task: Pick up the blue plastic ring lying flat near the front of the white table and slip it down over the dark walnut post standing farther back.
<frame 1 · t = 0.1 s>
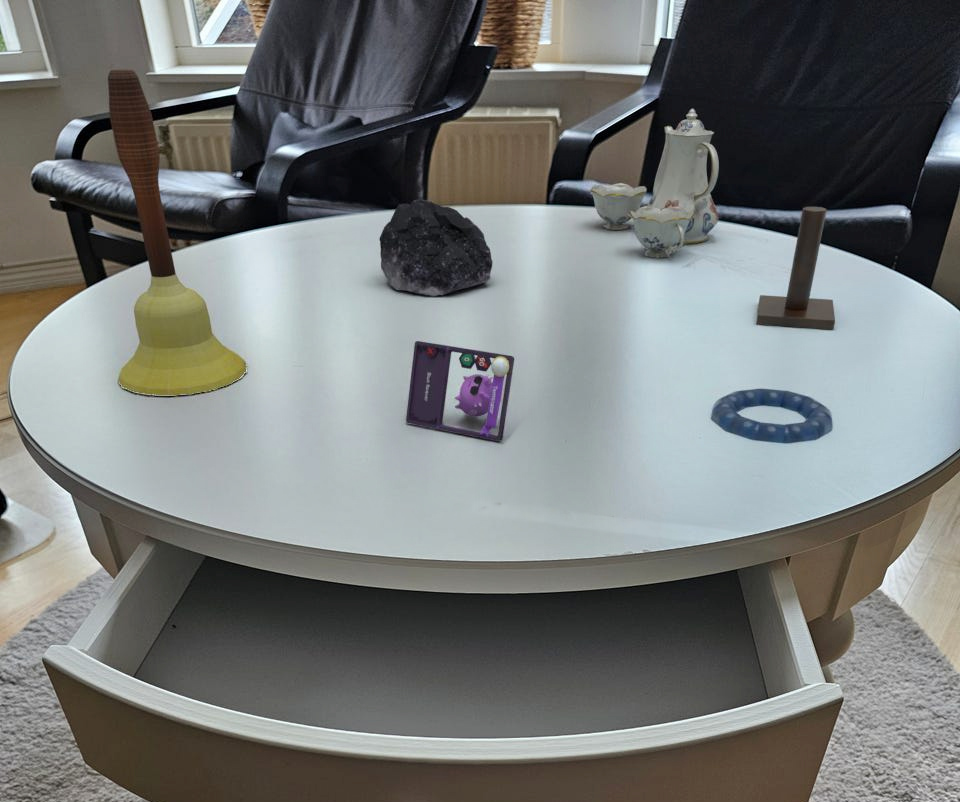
handbell: (184, 375, 88), on the table
ring: (771, 418, 75), point 1 cm above the table
chinaware: (658, 240, 131), on the table
dark grey rock: (437, 284, 114), on the table
game card: (465, 425, 77), on the table
post: (794, 316, 101), on the table
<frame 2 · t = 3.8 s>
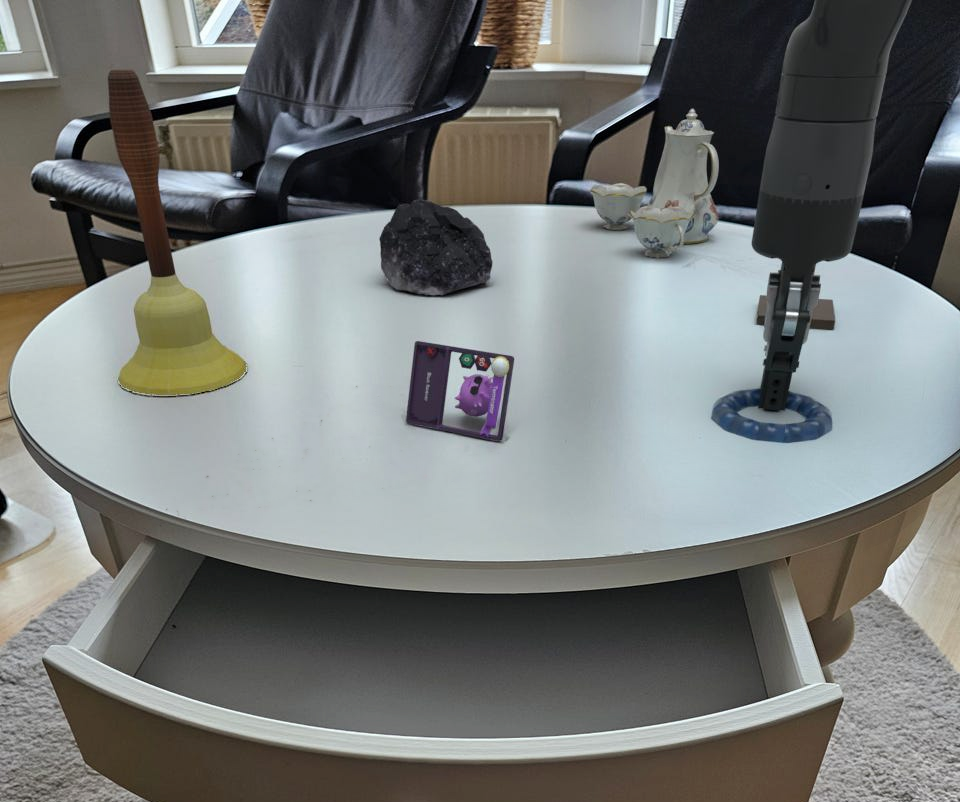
hand: (771, 406, 78), 1 cm above the table, tool pointing down, fingers closed on ring, 2 cm apart
ring: (771, 417, 75), point 1 cm above the table, touching gripper
everything else where it was.
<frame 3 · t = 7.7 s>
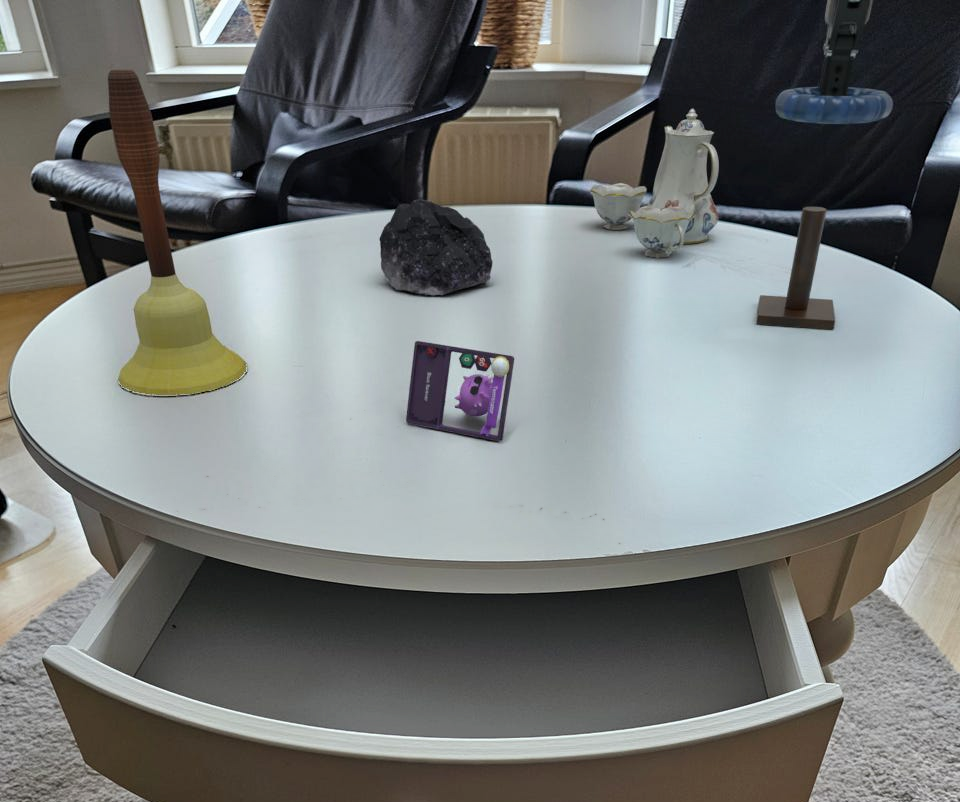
hand: (829, 105, 82), 21 cm above the table, tool pointing down, fingers closed on ring
ring: (832, 104, 79), point 22 cm above the table, touching gripper
everything else where it was.
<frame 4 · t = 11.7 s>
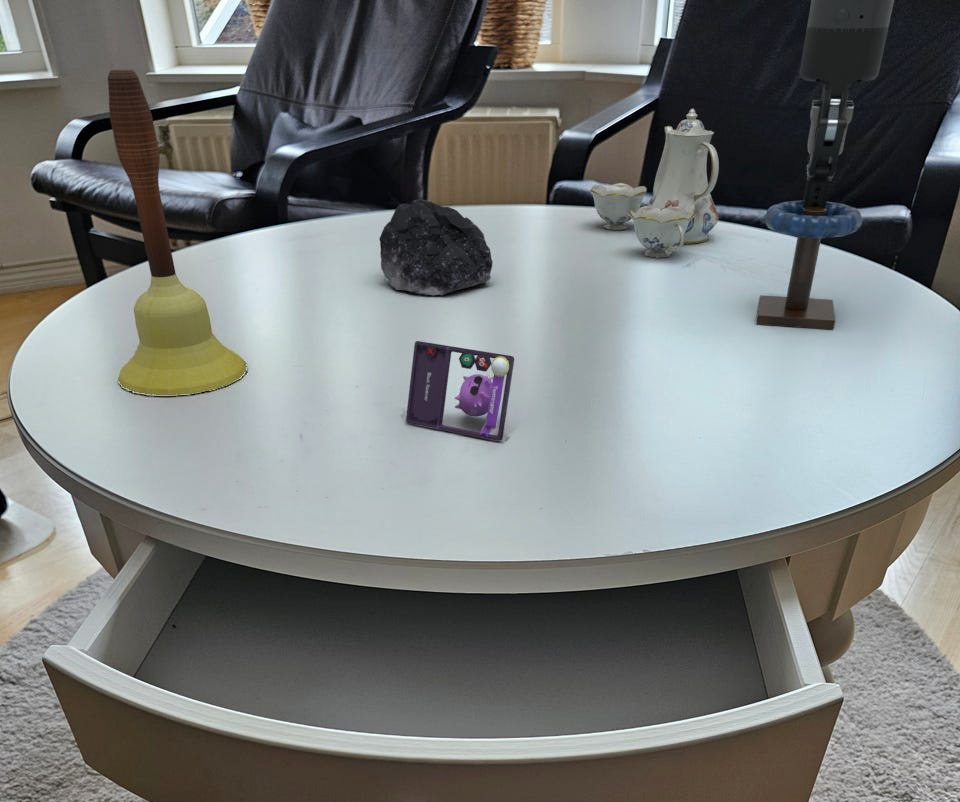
hand: (811, 215, 98), 10 cm above the table, tool pointing down, fingers closed on ring
ring: (812, 218, 95), point 10 cm above the table, touching gripper
everything else where it was.
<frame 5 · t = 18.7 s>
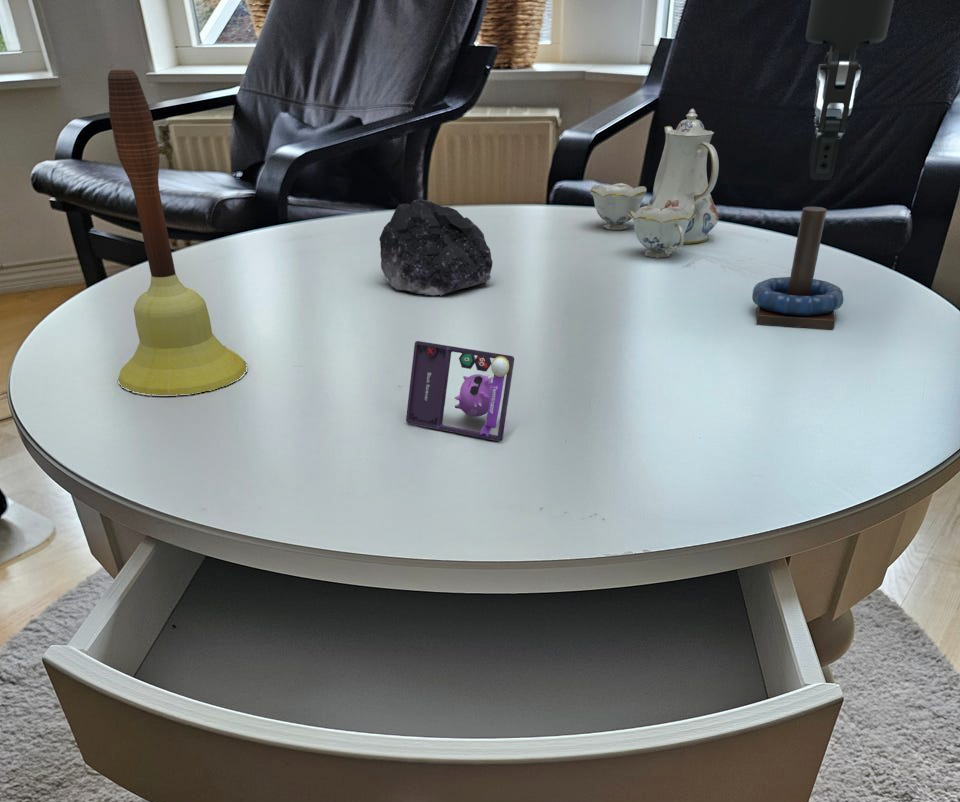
hand: (819, 172, 96), 14 cm above the table, tool pointing down, fingers open, 8 cm apart
ring: (797, 295, 100), point 2 cm above the table, touching post
everything else where it was.
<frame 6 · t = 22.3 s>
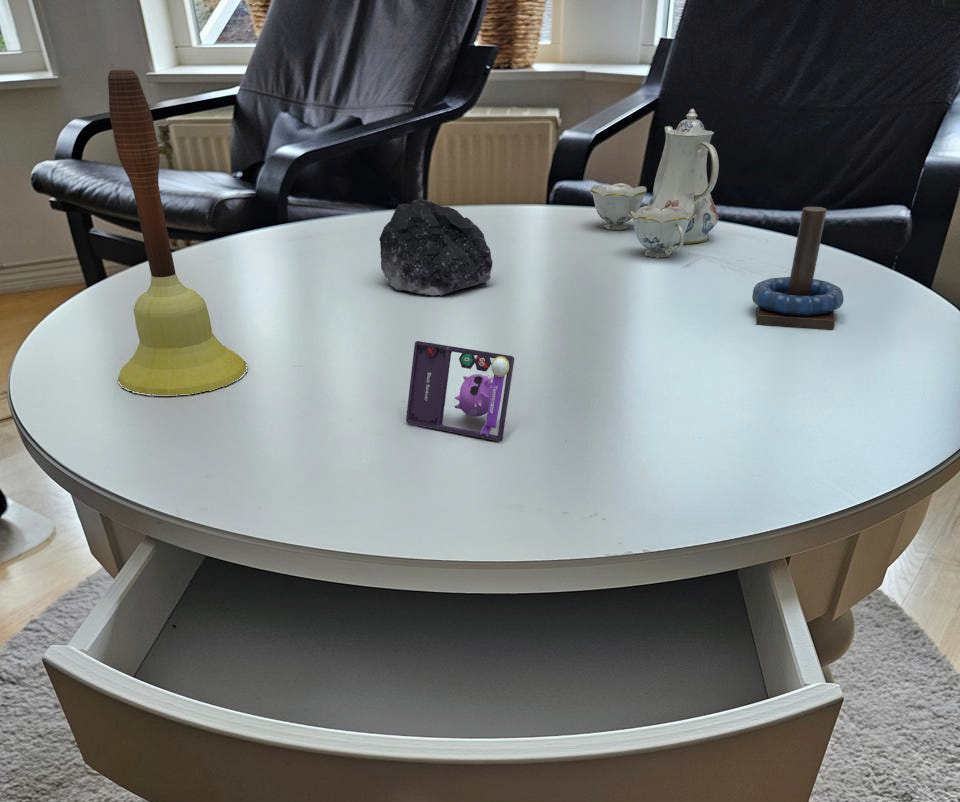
hand: (948, 6, 87), 28 cm above the table, tool pointing down, fingers open, 8 cm apart
nothing on the table moved.
at the end: ring 0.8 cm off-centre on the post, point 2.0 cm above the post's base; the gripper is holding nothing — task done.
